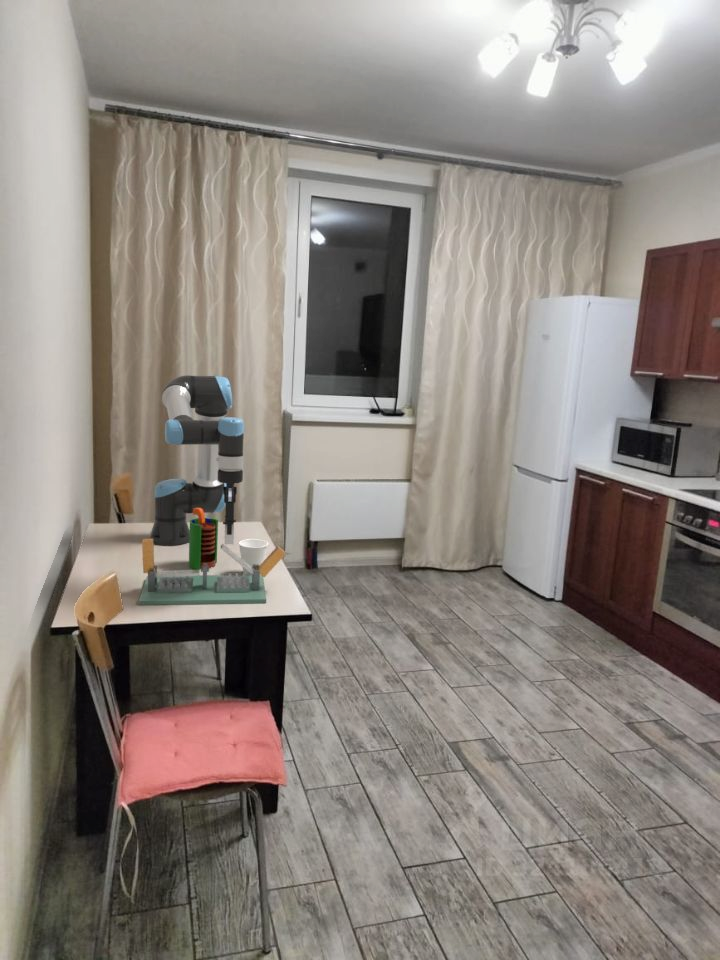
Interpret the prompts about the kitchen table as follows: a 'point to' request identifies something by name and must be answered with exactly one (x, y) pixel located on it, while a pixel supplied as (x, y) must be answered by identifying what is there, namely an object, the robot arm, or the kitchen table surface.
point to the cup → (253, 552)
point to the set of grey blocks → (204, 582)
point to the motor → (202, 540)
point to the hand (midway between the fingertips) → (229, 543)
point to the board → (203, 593)
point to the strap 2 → (266, 564)
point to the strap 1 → (149, 563)
